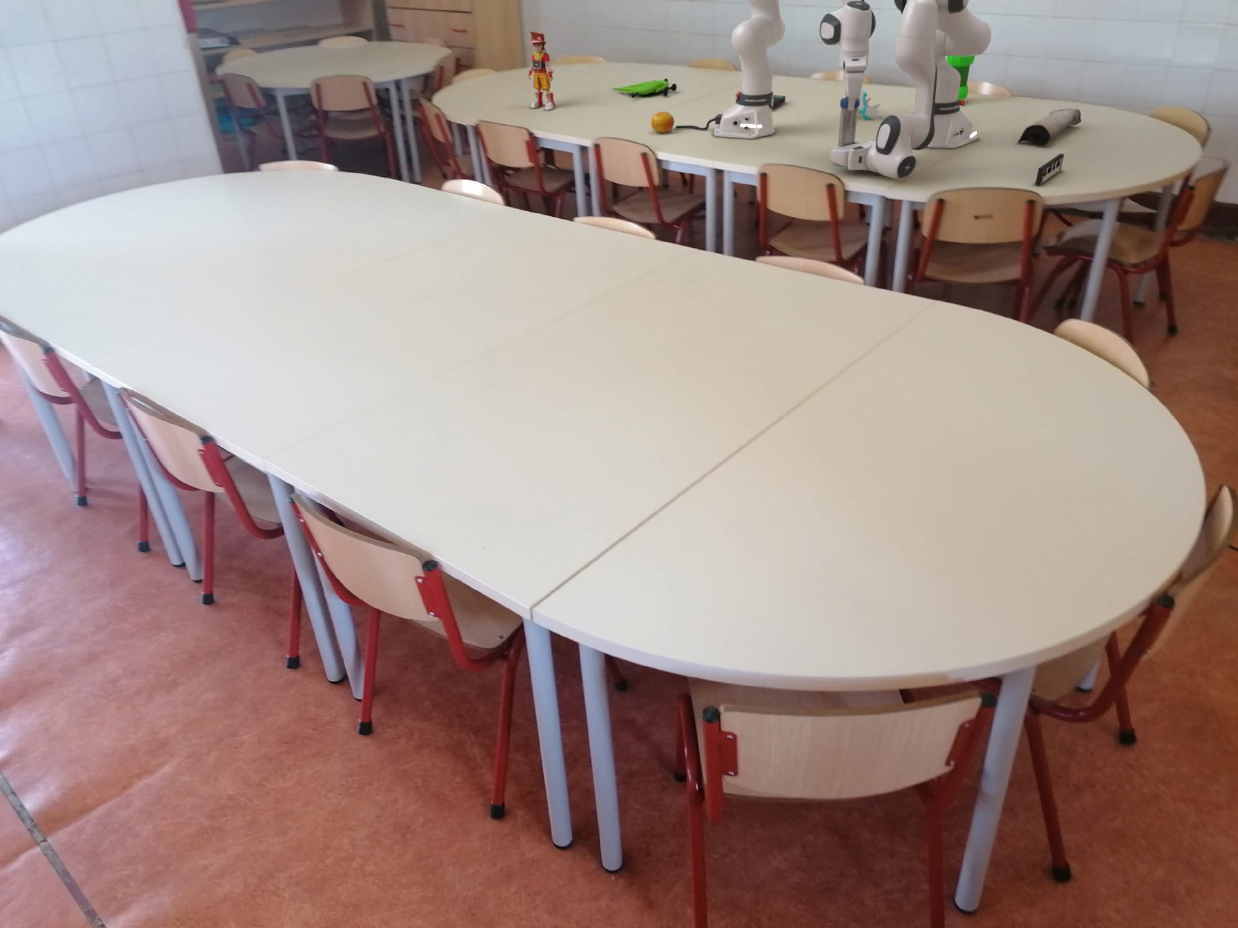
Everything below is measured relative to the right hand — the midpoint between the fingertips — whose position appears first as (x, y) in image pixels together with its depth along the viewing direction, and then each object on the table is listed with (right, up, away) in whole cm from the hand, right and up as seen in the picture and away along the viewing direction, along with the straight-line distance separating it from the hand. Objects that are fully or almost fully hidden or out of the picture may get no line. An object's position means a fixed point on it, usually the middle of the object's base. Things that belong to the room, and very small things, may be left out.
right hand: (844, 146), depth 295 cm
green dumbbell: (+59, +39, +60) cm, 92 cm away
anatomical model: (+20, +29, +50) cm, 62 cm away
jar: (+1, -5, +2) cm, 5 cm away
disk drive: (-14, +41, +70) cm, 82 cm away
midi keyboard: (+58, -17, -20) cm, 63 cm away
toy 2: (-65, +60, +102) cm, 135 cm away
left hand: (0, +10, -8) cm, 13 cm away
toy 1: (-107, +48, +88) cm, 146 cm away
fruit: (-58, +22, +46) cm, 77 cm away
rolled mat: (+76, +9, +16) cm, 78 cm away
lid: (0, +11, -9) cm, 14 cm away
